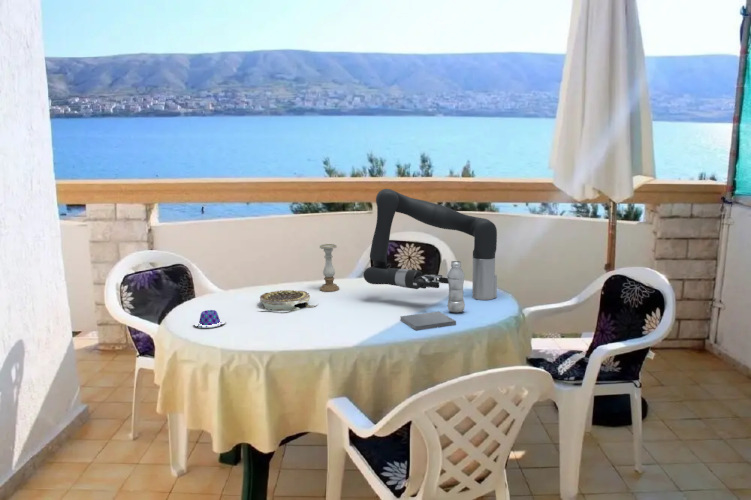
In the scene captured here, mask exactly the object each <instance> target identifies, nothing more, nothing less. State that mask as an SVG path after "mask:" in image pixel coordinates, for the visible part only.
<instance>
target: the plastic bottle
mask: <svg viewBox="0 0 751 500" xmlns="http://www.w3.org/2000/svg"><path fill="white" fill-rule="evenodd" d="M450 267H451V268H450V269H449V270H448V272H447V274H446V275H447V277H446V278H448V300H447V309H448V311H449V312H451V313H457V314H458V313H463V312H464V310H465V306H466V304H465V300H464V282H465V272H464V271H463V270H462V268H461V267H462V261H459V260H452V261H451V264H450Z"/></svg>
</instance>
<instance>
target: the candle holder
mask: <svg viewBox="0 0 751 500" xmlns="http://www.w3.org/2000/svg"><path fill="white" fill-rule="evenodd" d="M336 248H337V244H334V243H325V244H320V245H319V249H322V250H323V252H324V254H325V255H324V259H325V266H324V268H323V271H322V274H323V276H324V278H323V280H324V281H325V283H323V284H322V285H321V286H320V287H319V291H321V292H329V293H331V292H337V291H339V290H340V287H339V285H337V284H336V283H334V281H335V277H334V276H335V274H336V271H335V268H334V265H333V262H332V261H333V259H332V258H333V254H332V253H333V251H334V249H336Z"/></svg>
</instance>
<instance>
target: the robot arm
mask: <svg viewBox="0 0 751 500" xmlns="http://www.w3.org/2000/svg"><path fill="white" fill-rule="evenodd" d="M375 203H376V210H377V212H376V214H377V215H376V216H377V217H376V225H375V228H374V229H375V230H374V233H373V236H372V241H371V247H370V251H369V258H370V260H372V261H373V266H369V267H367V268H365V270H364V272H363V279H364V280H365V281H366V282H367V283H368V284H371V285H389V286H396V287H400V288H406V289H413V290H419V289H429V288H433V289H439V288H440V284H448V277H443V275H442V274H433V273H432V274H431V273H429V274H424V275H423V272H422V271H420V270H417V269H407V268H395V267H394V268H393V267H390V268H389V267H388V261H387V260H388V259H387V257H388V251H389V244H390V237H391V230H392V225H393V221H394V218H395V214H396V213H399V214H403V215H406V216H409V217H410V218H413V219H415V220H417V221H419V222H420V223H423V224H425V225H429V226H431V227H434V228H438V229H444V230H449V231H458V232H461V233H464V234H467V235H469V236H471V237H473V238H474V241H473V242H474V247H473V250H472V298H473V299H475V300H480V301H481V300H483V301H488V300H493V299H497V298H498V297H497V296H498V295H497V293H498V292H497V291H498V289H497V286H498V284H497V283H498V276H497V274H496V252H497V242H498V241H497V239H498V231H497V230H498V229H497V226H496V224H495V223H494V222H493V221H491V220H489V219H487V218H484V217H483V218H482V217H478V216H472V215H468V214H465V213H461V212H459V211H457V210H454V209H453V208H451V207H447V206H444V205H441V204H437V203H434V202H431V201H426V200H423V199H417V198H413V197H409V196H407V195H404V194H403V193H399V192H398V191H395V190H393V189H391V188H384V189H381V190H380V191H378V193H377V195H376V197H375ZM448 285H449V284H448Z"/></svg>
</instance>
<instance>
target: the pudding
mask: <svg viewBox="0 0 751 500" xmlns="http://www.w3.org/2000/svg"><path fill="white" fill-rule="evenodd" d="M220 319H221V318H220V317H219V313H218V312H217V310H215V309H214V310H213V309H209V310H208V309H207V310H204V311H201V313H200V317H199V320H198V321H199V323H200V324H202V325H212V324H217V323H219V322H220ZM220 323H221V322H220Z"/></svg>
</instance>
